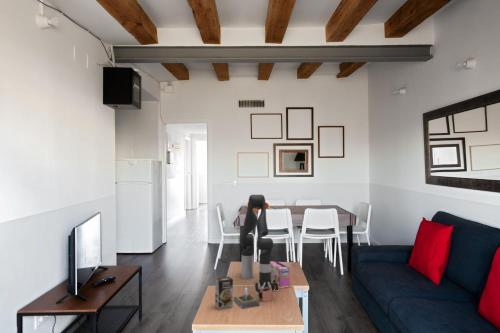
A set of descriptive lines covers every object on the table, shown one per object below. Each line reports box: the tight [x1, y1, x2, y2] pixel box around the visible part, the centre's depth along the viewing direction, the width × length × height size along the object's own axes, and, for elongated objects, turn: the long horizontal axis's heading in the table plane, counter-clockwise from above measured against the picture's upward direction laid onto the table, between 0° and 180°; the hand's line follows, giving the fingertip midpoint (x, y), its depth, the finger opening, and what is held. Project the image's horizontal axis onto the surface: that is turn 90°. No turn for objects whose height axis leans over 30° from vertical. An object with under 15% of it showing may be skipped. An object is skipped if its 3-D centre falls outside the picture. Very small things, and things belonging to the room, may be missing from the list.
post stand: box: [233, 286, 260, 310], centre depth 183 cm, size 14×11×9 cm
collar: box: [258, 288, 273, 303], centre depth 188 cm, size 6×6×6 cm
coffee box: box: [214, 276, 234, 310], centre depth 178 cm, size 9×6×16 cm
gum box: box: [271, 259, 291, 287], centre depth 220 cm, size 24×8×14 cm, turn 22°
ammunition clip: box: [264, 273, 280, 290], centre depth 205 cm, size 11×2×12 cm, turn 74°
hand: (265, 297), depth 188 cm, fingers closed on collar, 6 cm apart
